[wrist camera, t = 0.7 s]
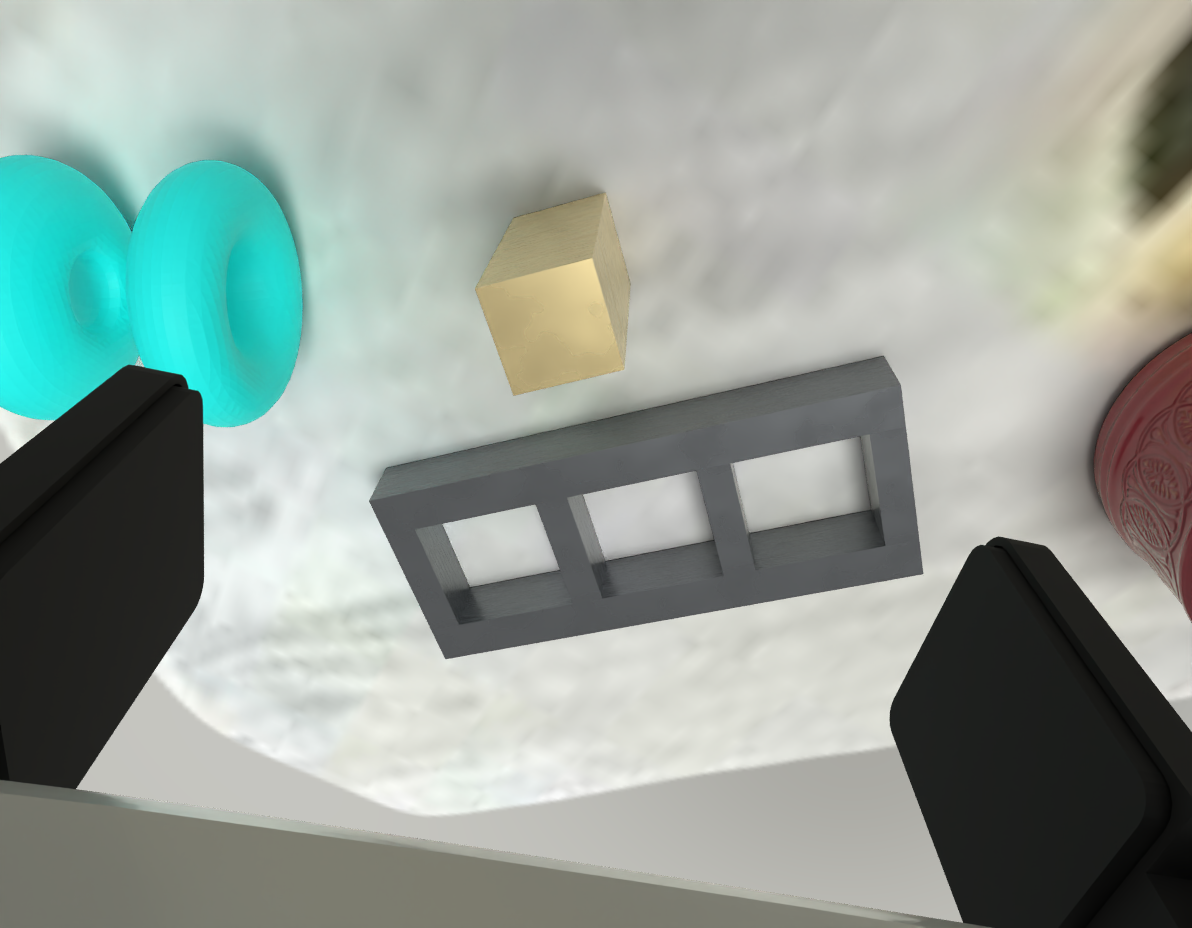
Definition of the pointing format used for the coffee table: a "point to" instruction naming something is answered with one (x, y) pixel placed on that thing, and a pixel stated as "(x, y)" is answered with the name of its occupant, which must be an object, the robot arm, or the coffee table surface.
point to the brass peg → (558, 296)
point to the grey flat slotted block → (641, 453)
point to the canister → (1153, 467)
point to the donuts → (145, 288)
